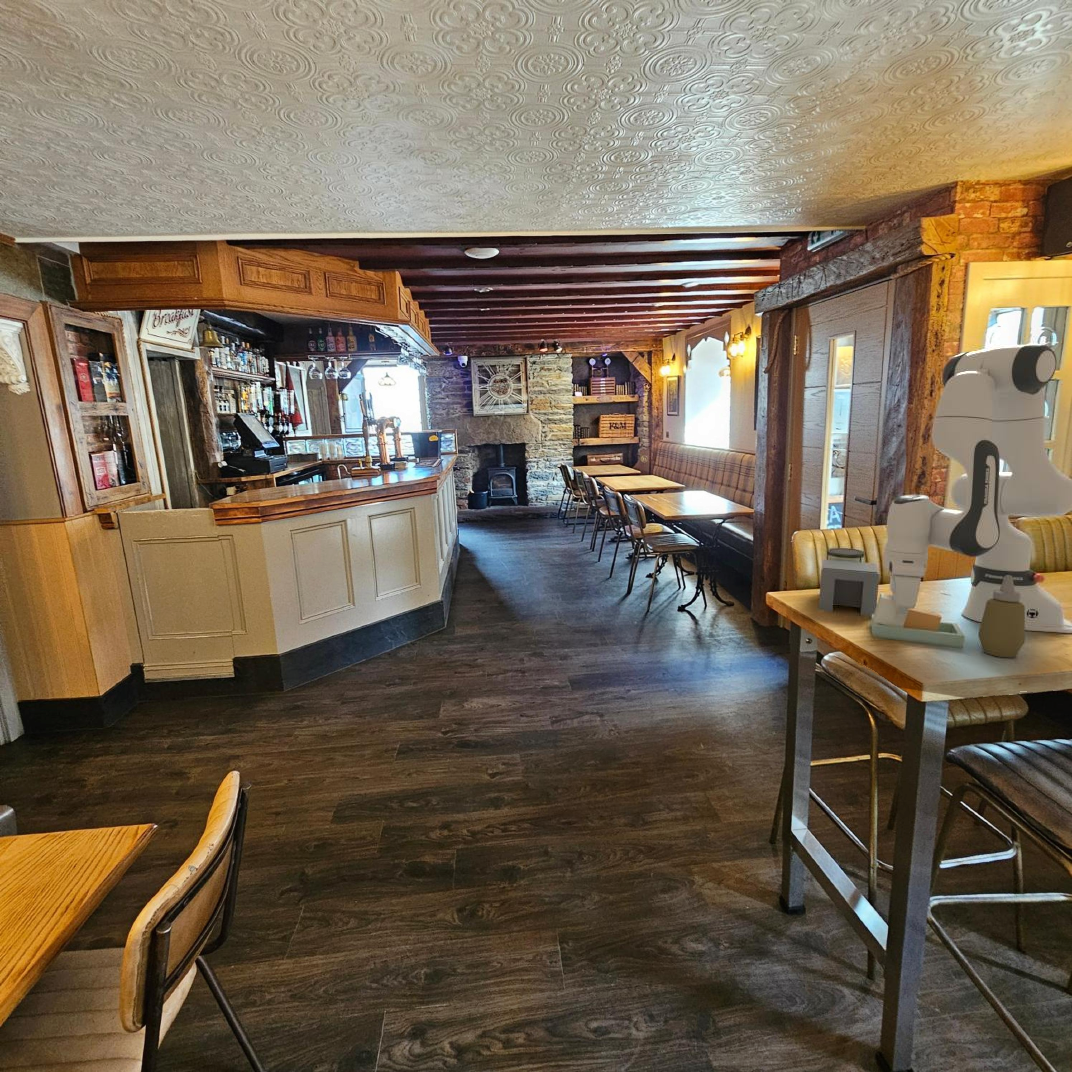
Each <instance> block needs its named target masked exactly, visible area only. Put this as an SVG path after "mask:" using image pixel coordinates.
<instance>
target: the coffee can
mask: <svg viewBox="0 0 1072 1072" xmlns="http://www.w3.org/2000/svg"><path fill="white" fill-rule="evenodd" d="M865 554H866V552H865V551H863V550H861V549H856V548H855V549H854V548H849V547H848V548H847V547H845V548H844V547H833V548H832V547H831V548H827V549H826V560H837V561H850V562H864V560H865ZM864 563H865V562H864Z"/></svg>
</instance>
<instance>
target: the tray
mask: <svg viewBox="0 0 1072 1072" xmlns="http://www.w3.org/2000/svg"><path fill="white" fill-rule="evenodd" d="M873 616H874V614H872V616H871V621H870V629H871V635H872V637H873V638H878V639H886V640H887V639H888V640H894V641H902V642H903V641H904V642H911V643H918V644H925V645H926V644H927V645H933V646H941V647H942V646H943V647H949V648H956V649H964V642H965V634H964V633H963V631H962V630H961V628H960V626H959V625H958V623H956V622H946V621H940V624H939V627H938V630H937V631H929V630H920V629H912V628H903V627H895V626H887V625H884V624H880V623H876V622H874V617H873Z"/></svg>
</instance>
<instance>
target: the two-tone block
mask: <svg viewBox="0 0 1072 1072" xmlns="http://www.w3.org/2000/svg"><path fill="white" fill-rule="evenodd" d="M879 593H880V594H879V597H878V599H877V606H876V609H875V613H874V616H873V617H874V622H876V623H880V624H884V625H887V626H895V627H903V628H912V629H920V630H929V631H937V630H938V627H939V624H940V622H942V621H941V620H942V616H941V614H938V613H935V612H931V611H926V610H924V609H923V610H922V609H918V608H915V607H914V608H913V609H908V611H907V614H906V620H905V621H898V620H897V606H896V603H895V600H894V597H893V595H891V594H887V593H884V592H883V593H882V592H879Z"/></svg>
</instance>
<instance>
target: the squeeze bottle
mask: <svg viewBox="0 0 1072 1072" xmlns="http://www.w3.org/2000/svg"><path fill="white" fill-rule="evenodd" d="M1020 595H1021V594H1020V593H1019V592H1016V591H1015V590H1014V584H1013V577H1012V576H1010V575H1006V576H1005V578H1004V580H1003V583H1002V585H1001V587H1000V589H997V590H994V591H993V598H992V599H990V600H988V601H987V602H986V606H985V610H984V614H983V618H982V622H980V626H979V630H978V638H979V642H980V645H981V649H982V651H983V652H984V653H986V654H987V655H991V656H994V657H999V658H1008V659H1010V658H1011V659H1012V658H1016V656H1017V655H1018V654H1019V652H1020V650H1021V649H1022V647H1024V644H1025V642H1026V640H1025V639H1026V636H1025V634H1026V630H1025V606H1024V605H1023V604H1022V603H1021V602H1018V601H1020Z"/></svg>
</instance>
